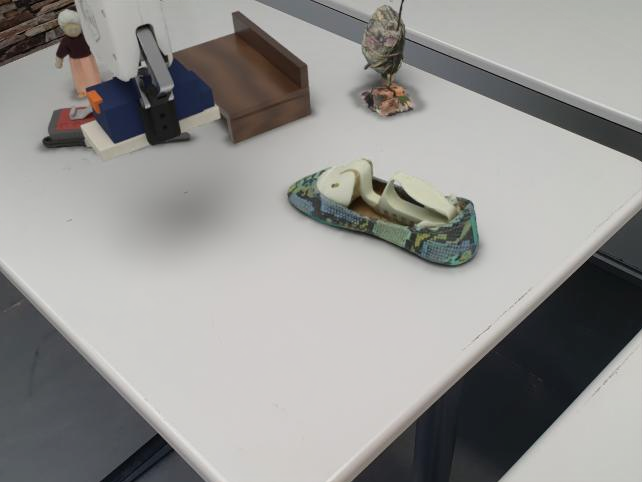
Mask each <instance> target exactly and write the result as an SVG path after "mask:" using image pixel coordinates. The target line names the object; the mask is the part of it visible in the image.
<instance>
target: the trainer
mask: <svg viewBox="0 0 642 482" xmlns="http://www.w3.org/2000/svg"><path fill="white" fill-rule="evenodd" d="M167 69H168V71H169V73H170V75H171V78H172V80H173V83H174V87H173V89H172V92H173V96H174V103H175V107H176V112H177V116H178V120H179V124H180V129H181V133H183V132H189V131H190V130H194V129H196V128H200V127H202V126H203V125H206V124H210V123H212V122H215V121H217V120H220V119H221V113H220V111H219V107H218V106H217V105H216V104H215V103H214V98H213V93H212V89H211V88H210V87H209V86H208V85H207V84H206V83H205V82H204V81H203V80H202V79H201V78H200V77H198V76H197V75H196V74H195V73H194V72H193V71H192V70H191V71H188V70H187V69H186V68H185V67H184V66H183V65H182V64H181V63H180V62H179V61H178V60H177V59H176V58H174V59H173V61H172V64H171V65H170V67H167ZM141 79H142V81H143V84H144V87H145V90H146V89H147V86H148V85H150V84H152V77H151V75H150V76H147V77H144V78H141ZM101 82H102V83H99V84H96V85H93V86H90V87H87V88H86V92H87V93H86V94H87V96H86V98H87V100H88V103H89V105H91V107H92V110H93V113H94V116H95V119H96V120H95V121H92V122H89V123H86V124H83V125H81V129H82V132H83V135H84V137H85V138H86V140H87V141H88V142H89V144H90V145H91V146H92V147H91V148H92V149H93V151H94V152H95V153H96V154H97V156H98V157H99V158H100V160H101V162H103V163H105V162H108V161H111V160H113V159H117V158H119V157H122V156H125V155H127V154H129V153H132V152H134V151H137V150H140V149H143V148H145V147H148V146H151V145H150V144H149V143H148V141H147V138H146V134H145V131H144V127H143V124H142V120H141V117H140V113H139V110H138V106H137V105H140V104H141V102H140V100H139V97H138V94H137V91H136V89H135V86H134V83H133V80H132V78H130V80H129V81H127V82H125V81H122V80H120V79H119V78H114V79H113V78H112V79H108V80H105V81H101Z"/></svg>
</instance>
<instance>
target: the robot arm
mask: <svg viewBox="0 0 642 482" xmlns="http://www.w3.org/2000/svg"><path fill="white" fill-rule="evenodd" d="M73 2H74V5H75V9H76V12H77V13H78V16H79V20H80V24H81V27H82V30H81V32H82V33H83V34H84V37H85V40H86V42H87V44H88V45H89V47H90V50H91V52H92V53H93V54H94V55H95V56H96V57H97V58H98V59H99V60H100V61H101V63H103V64H104V66H105V67H106V68H107V69H108V71H110V72H111V74H112V75H113V77H112V79H114V78H119V79H120V80H122V81H125V82H127V81H129V80H130V78H132V80H133V83H134V86H135V89H136V91H137V94H138V97H139V100H140V102H141V104H140V105H137V106H138V110H139V113H140V117H141V120H142V124H143V127H144V131H145V134H146V138H147V141H148V143H149V144H150V145H149V146H152V147H154V146H156V145H159V144H161V143H165V142H164V141H167V140H169V141H171V140H170V139H172V138H175V137H178V136H179V135H180V134H181V129H180V124H179V120H178V116H177V112H176V107H175V103H174V96H173V92H172V89H173V87H174V83H173V80H172V78H171V75H170V73H169V71H168V69H167V67H170V65H171V64H172V61H173V55H172V53H173V47H172V44H171V38H170V34H169V33H170V32H169V29H168V25H167V20H166V16H165V12H164V8H163V5H162V0H73ZM142 62H144V63H145V65H146V66H143V67H142ZM150 75H151V77H152V84H150V85H148V86H147V89H146V90H145V87H144V84H143V81H142V79H141V78H144V77H147V76H150Z"/></svg>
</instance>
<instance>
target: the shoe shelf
mask: <svg viewBox="0 0 642 482" xmlns="http://www.w3.org/2000/svg"><path fill="white" fill-rule="evenodd" d="M231 17H232V25H233V32H232V33H229V34H226V35H224V36H219V37H217V38H214V39H211V40H207V41H205V42H202V43H199V44H196V45H193V46H190V47H186V48H183V49H180V50H177V51H175V52H174V51H173V52H172V55H173V59H174V58H176V59H177V60H178V61H179V62H180V63H181V64H182V65H183V66H184V67H185V68H186V69H187V70H188V71H191V70H192V71H193V72H194V73H195V74H196V75H197V76H198V77H200V78H201V79H202V80H203V81H204V82H205V83H206V84H207V85H208V86H209V87H210V88H211V89H212V93H213V98H214V103H215V104H216V105H217V106H218V107H219V111H220V115H222V116H223V117H224V118H225V119H226V122H227V123H226V124H227V130H228V134H229V140H230V142H231V143H233V144H234V145H236V144H238V143H241V142H244V141H246V140H249V139H252V138H254V137H257V136H259V135H262V134H264V133H267V132H269V131H272V130H275V129H277V128H280V127H283V126H285V125H288V124H290V123H293V122H296V121H299V120H301V119H303V118H306V117H309V116H311V115H312V109H311V95H310V82H309V68H308V67H309V66H308V64H307V63H306V62H304V61H303V60H302V59H301V58H299V57H298V56H297V55H295V54H294V53H293V52H291V51H290V50H289V49H288V48H287V47H285V46H284V45H283V44H281V43H280V42H279V41H278V40H277V39H275V38H274V37H273V36H272V35H270V34H268V32H266V31H265V30H264V29H263V28H261V27H260V26H258V25H257V24H256V23H255V22H253V21H252V20H251V19H250V18H249V17H248V16H246V15H245V14H244V13H242V12H241V11H240V10H236V11H233V12H231Z"/></svg>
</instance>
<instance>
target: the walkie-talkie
mask: <svg viewBox="0 0 642 482" xmlns="http://www.w3.org/2000/svg"><path fill="white" fill-rule="evenodd" d="M51 114H52V115H51V118H50V121H49V123H48V126H47V132H48V136H45V137H43V138H42V140H41V142H42V143H43V146H44V147H48V148H50V147H52V148H53V147H57V148H59V147H60V148H62V147H71V146H73V147H74V146H86V148H92V146H91V145H90V144H89V142H88V141H87V140H86V138H85V137H84V135H83V132H82V129H81V125H83V124H86V123H89V122H92V121H95V120H96V119H95V116H94V113H93V110H92V107H91V105H90V104H89V105H87V106H75V105H72V106H71V107H64V108H58V109H54V110H53V112H52V113H51ZM190 138H191V134H190V133H189V131H185V132H183V133H181V134H180V135H179V136H178V137H175V138H172V139H170V140H167V141H164V142H163V143H168V142H170V141H172V140H173V141H174V140H183V139H190Z"/></svg>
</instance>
